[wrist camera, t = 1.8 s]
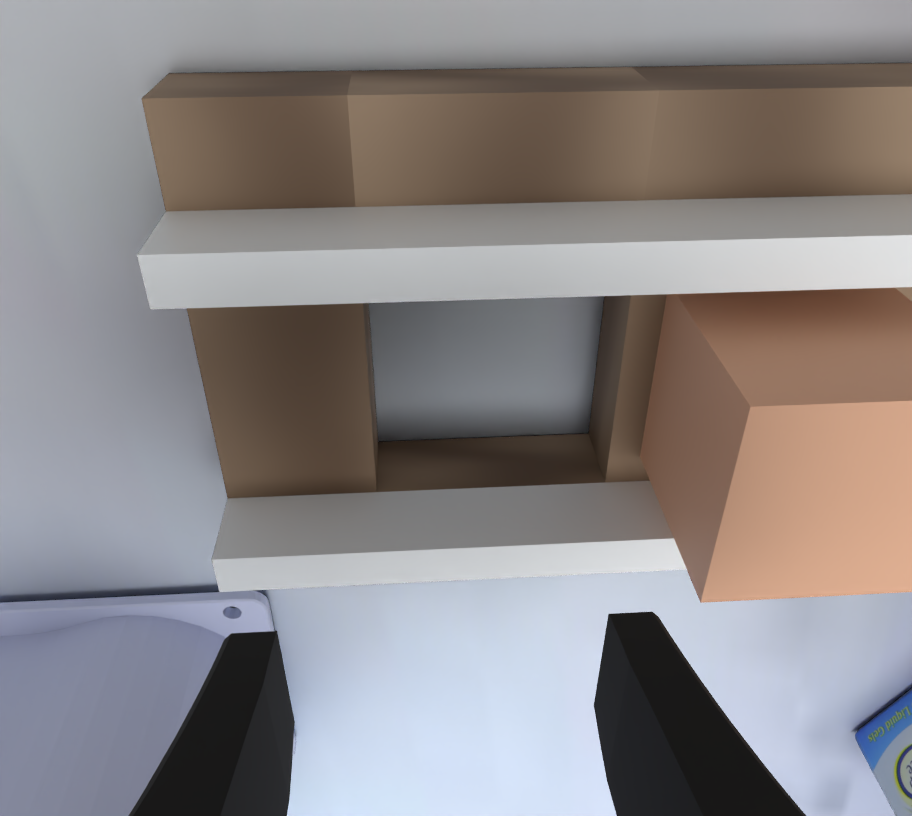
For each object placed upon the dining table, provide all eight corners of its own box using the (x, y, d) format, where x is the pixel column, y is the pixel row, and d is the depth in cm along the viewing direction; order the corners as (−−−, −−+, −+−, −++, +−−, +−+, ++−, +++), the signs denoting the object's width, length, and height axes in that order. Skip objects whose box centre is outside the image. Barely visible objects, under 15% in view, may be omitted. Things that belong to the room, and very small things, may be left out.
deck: (257, 533, 22) (246, 586, 20) (169, 73, 15) (141, 98, 14) (1115, 494, 23) (1170, 542, 22) (1387, 56, 16) (1497, 77, 15)
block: (639, 457, 19) (700, 602, 15) (668, 282, 16) (750, 406, 12) (824, 449, 19) (929, 591, 15) (882, 276, 16) (1024, 396, 13)
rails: (234, 529, 19) (219, 591, 18) (165, 211, 15) (136, 255, 13) (950, 497, 20) (999, 554, 18) (1093, 190, 16) (1175, 228, 14)
